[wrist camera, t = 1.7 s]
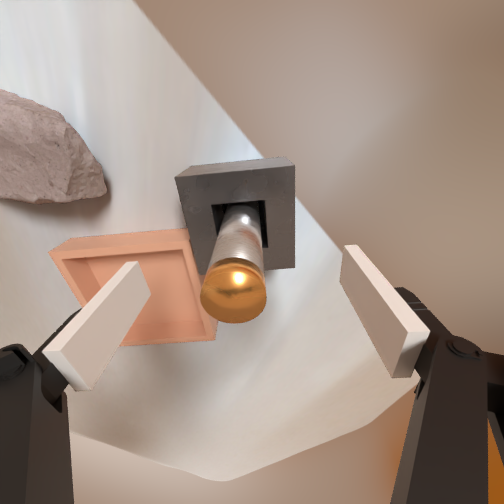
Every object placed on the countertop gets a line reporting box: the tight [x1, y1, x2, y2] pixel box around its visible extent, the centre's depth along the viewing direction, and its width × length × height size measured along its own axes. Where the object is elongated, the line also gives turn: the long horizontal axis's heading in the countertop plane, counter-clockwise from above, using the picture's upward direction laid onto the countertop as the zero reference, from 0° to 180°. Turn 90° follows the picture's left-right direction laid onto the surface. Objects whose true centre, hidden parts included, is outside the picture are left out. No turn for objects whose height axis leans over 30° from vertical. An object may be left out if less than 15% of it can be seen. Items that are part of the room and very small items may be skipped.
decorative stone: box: [0, 89, 107, 204], centre depth 21 cm, size 13×10×6 cm
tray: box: [48, 228, 218, 346], centre depth 30 cm, size 16×16×4 cm
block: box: [175, 157, 295, 275], centre depth 23 cm, size 10×10×6 cm
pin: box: [200, 200, 266, 323], centre depth 19 cm, size 4×4×16 cm
